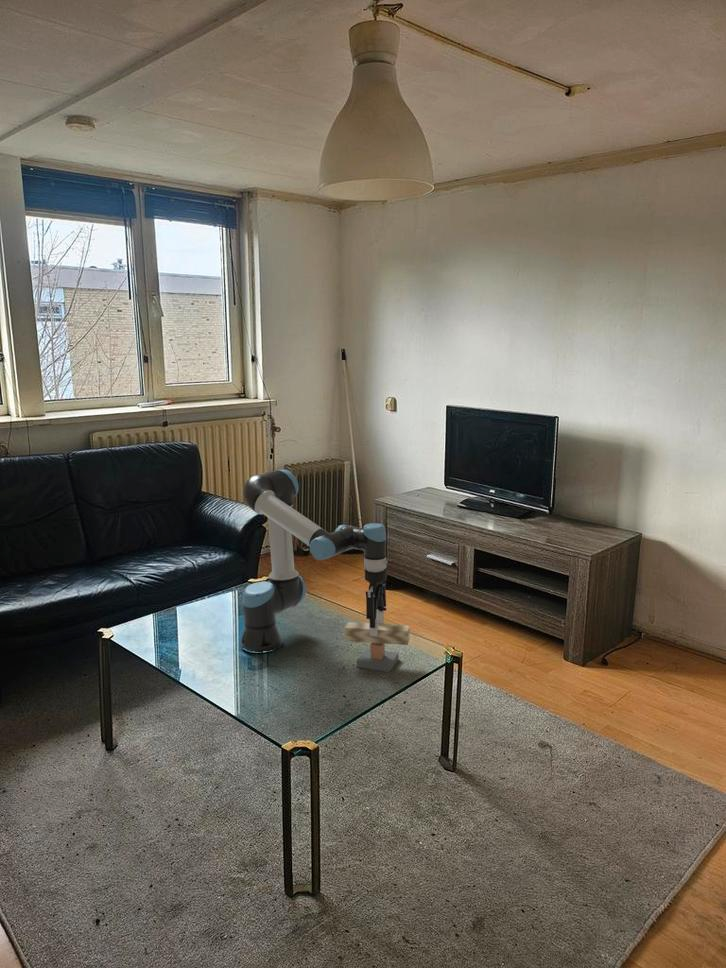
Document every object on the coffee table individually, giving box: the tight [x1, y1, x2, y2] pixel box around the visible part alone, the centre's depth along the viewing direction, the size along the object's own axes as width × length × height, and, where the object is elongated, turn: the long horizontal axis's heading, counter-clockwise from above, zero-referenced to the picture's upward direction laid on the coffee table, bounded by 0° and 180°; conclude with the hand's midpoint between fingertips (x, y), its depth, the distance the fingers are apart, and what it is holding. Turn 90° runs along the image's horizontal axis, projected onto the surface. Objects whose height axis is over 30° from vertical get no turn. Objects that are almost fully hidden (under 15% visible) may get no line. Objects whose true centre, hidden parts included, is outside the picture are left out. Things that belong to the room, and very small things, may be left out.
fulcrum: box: [356, 643, 399, 673], centre depth 241 cm, size 12×10×8 cm
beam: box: [344, 621, 411, 646], centre depth 239 cm, size 22×5×5 cm, turn 79°
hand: (377, 632), depth 239 cm, fingers closed on beam, 6 cm apart
